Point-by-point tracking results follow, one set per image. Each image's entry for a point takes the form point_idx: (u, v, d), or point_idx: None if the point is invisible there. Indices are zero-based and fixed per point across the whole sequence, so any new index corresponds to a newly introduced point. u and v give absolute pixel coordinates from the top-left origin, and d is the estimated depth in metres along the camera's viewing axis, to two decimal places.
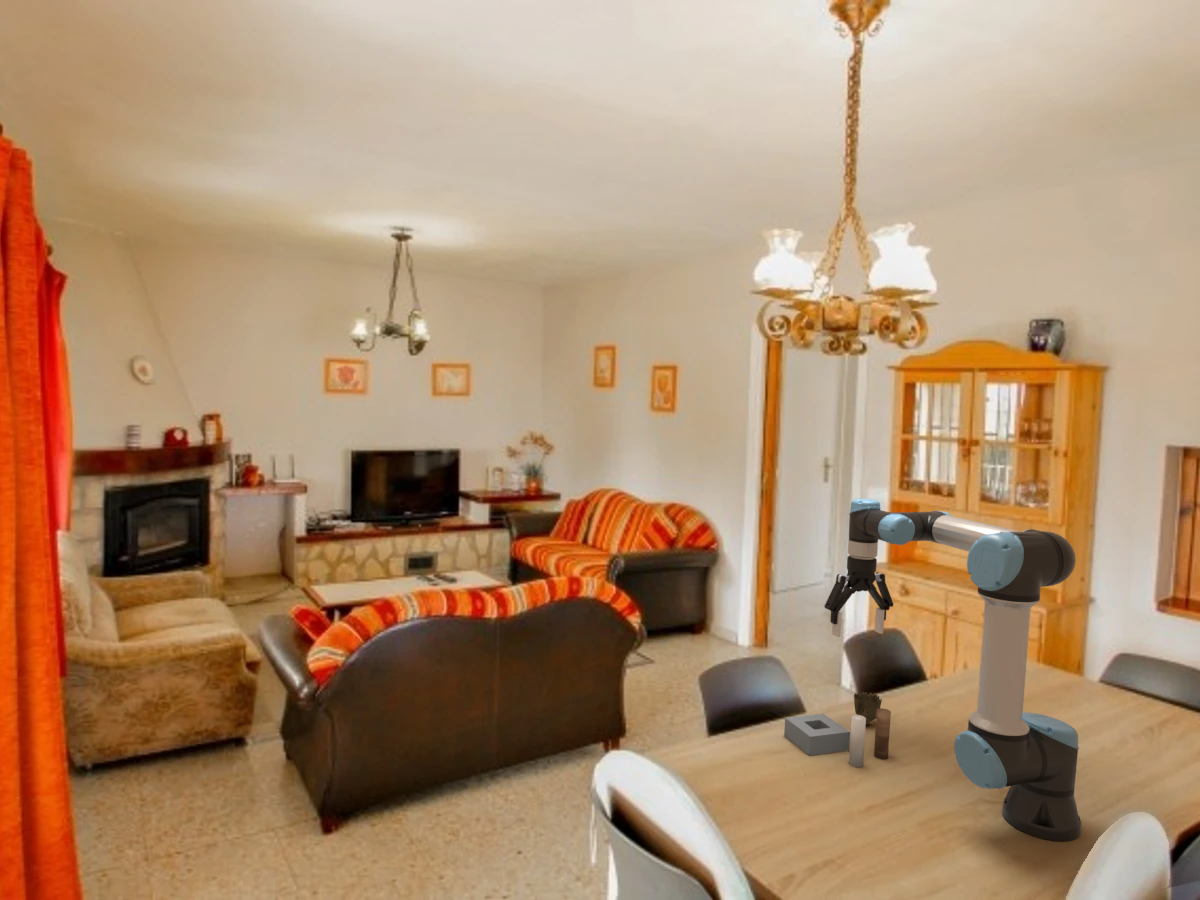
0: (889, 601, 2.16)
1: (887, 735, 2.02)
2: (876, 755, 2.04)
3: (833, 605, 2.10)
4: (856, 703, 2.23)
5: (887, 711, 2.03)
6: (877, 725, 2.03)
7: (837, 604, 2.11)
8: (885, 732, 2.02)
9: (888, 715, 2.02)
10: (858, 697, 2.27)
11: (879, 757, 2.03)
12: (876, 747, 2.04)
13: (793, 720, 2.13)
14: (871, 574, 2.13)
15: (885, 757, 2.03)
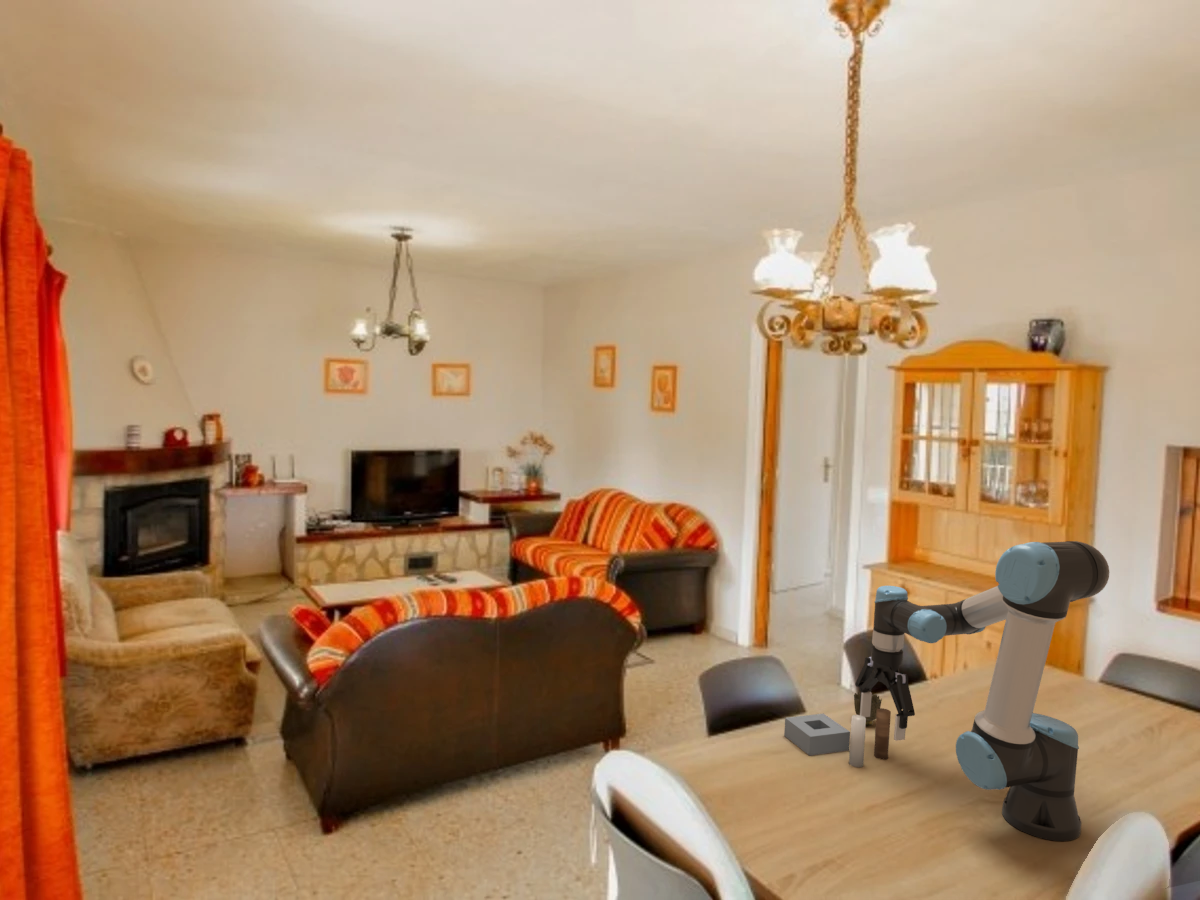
0: (903, 709, 1.95)
1: (887, 735, 2.02)
2: (876, 755, 2.04)
3: (858, 682, 2.11)
4: (856, 703, 2.23)
5: (887, 711, 2.03)
6: (877, 725, 2.03)
7: None
8: (885, 732, 2.02)
9: (888, 715, 2.02)
10: (858, 697, 2.27)
11: (879, 757, 2.03)
12: (876, 747, 2.04)
13: (793, 720, 2.13)
14: (889, 669, 2.00)
15: (885, 757, 2.03)
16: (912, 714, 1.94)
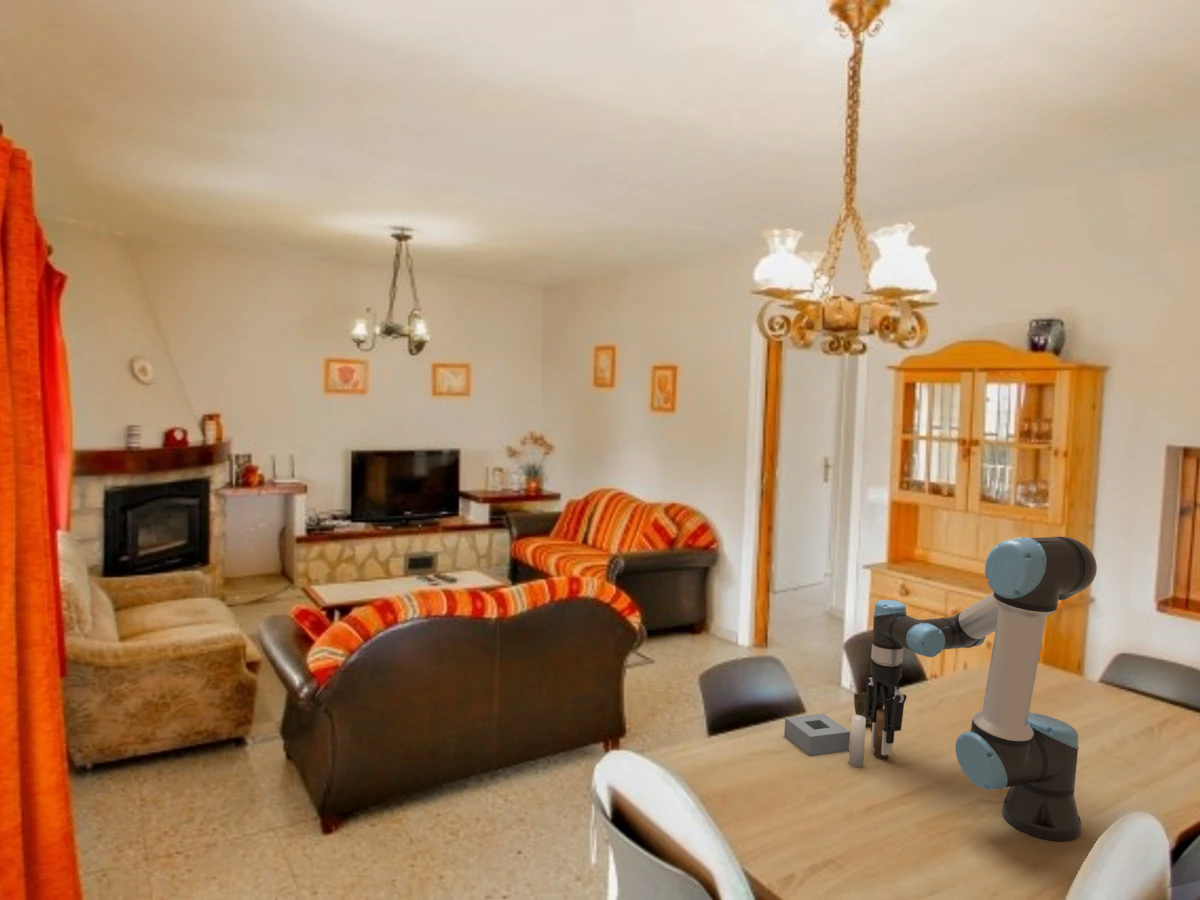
0: (891, 724, 1.99)
1: None
2: (876, 755, 2.04)
3: (867, 710, 2.08)
4: (856, 703, 2.23)
5: None
6: (877, 725, 2.03)
7: None
8: None
9: None
10: (858, 697, 2.27)
11: (879, 757, 2.03)
12: (876, 747, 2.03)
13: (793, 720, 2.13)
14: (890, 683, 2.00)
15: (885, 757, 2.03)
16: (898, 730, 1.99)
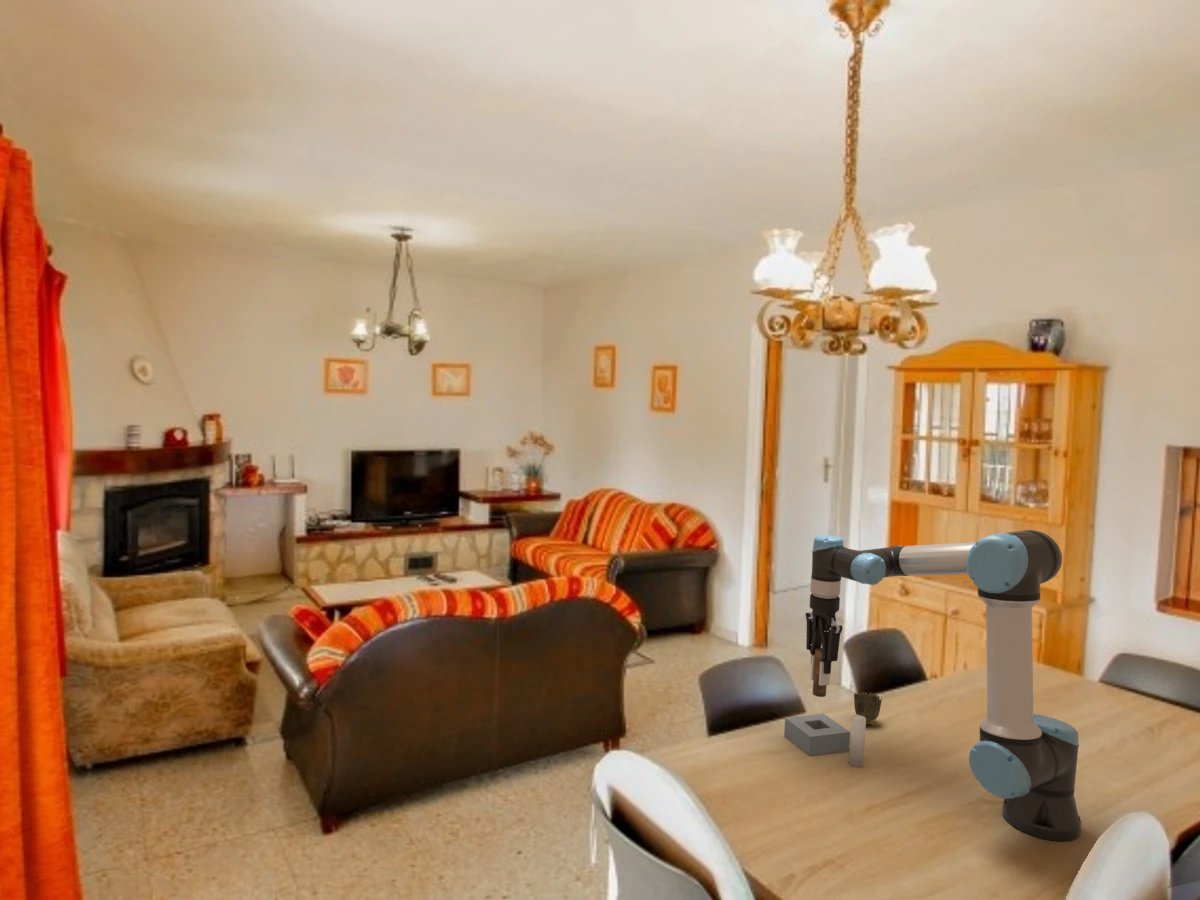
0: (828, 654, 2.04)
1: None
2: (814, 693, 2.09)
3: (807, 644, 2.13)
4: (856, 703, 2.23)
5: None
6: (815, 664, 2.09)
7: None
8: None
9: None
10: (858, 697, 2.27)
11: (817, 695, 2.09)
12: (814, 685, 2.09)
13: (793, 720, 2.13)
14: (827, 615, 2.05)
15: (823, 695, 2.09)
16: (834, 660, 2.05)
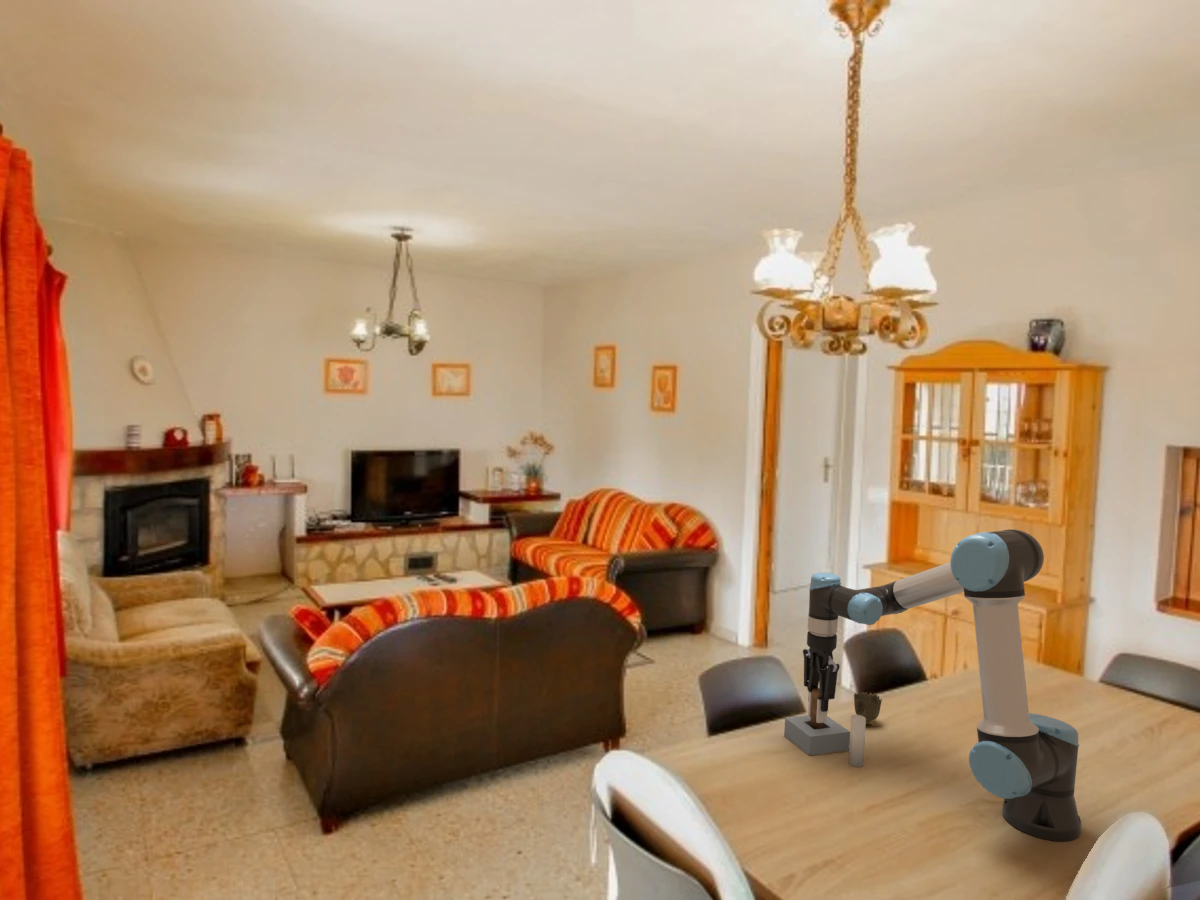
0: (825, 692, 2.05)
1: None
2: None
3: (805, 680, 2.14)
4: (856, 703, 2.23)
5: None
6: (812, 704, 2.10)
7: None
8: None
9: None
10: (858, 697, 2.27)
11: None
12: (811, 726, 2.10)
13: (793, 720, 2.13)
14: (824, 653, 2.06)
15: None
16: (832, 698, 2.05)
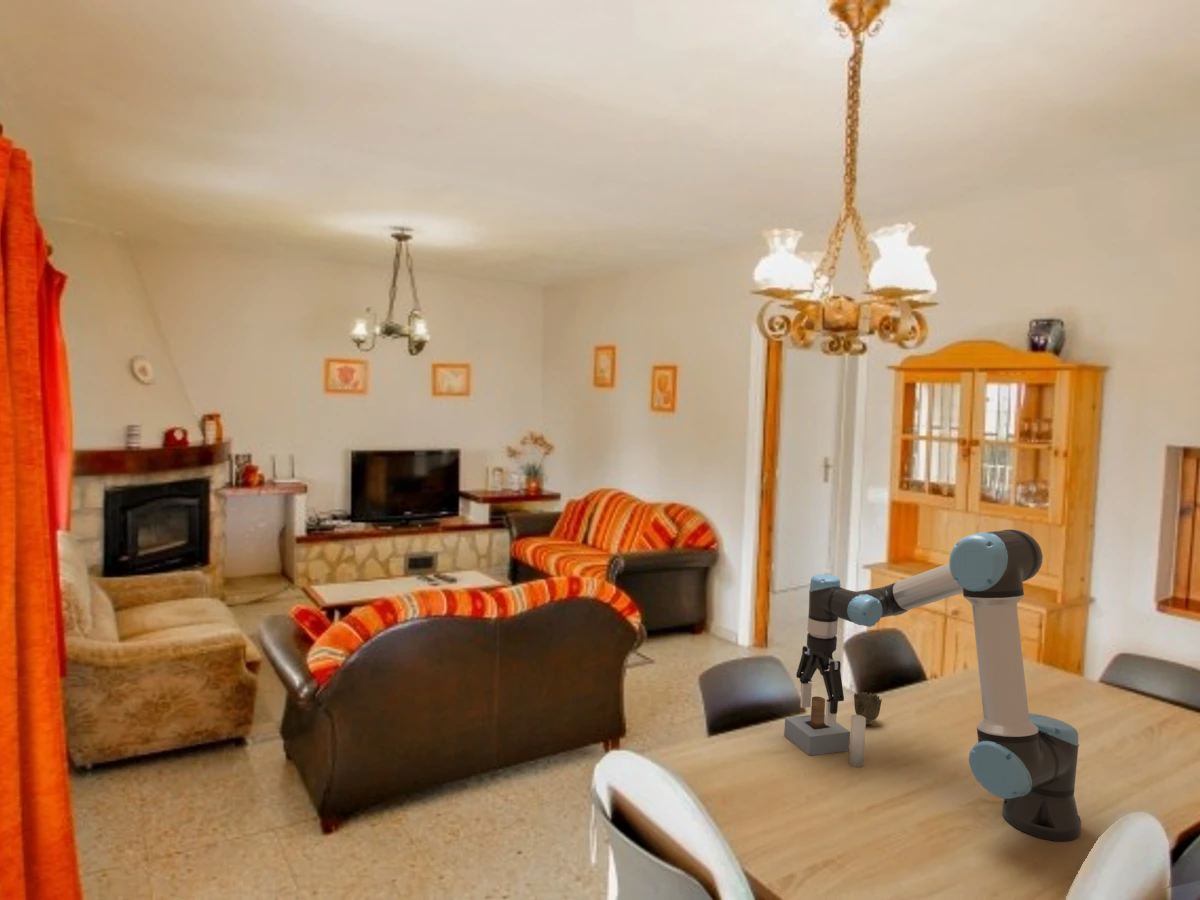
0: (833, 694, 2.02)
1: (821, 722, 2.09)
2: None
3: (798, 673, 2.17)
4: (856, 703, 2.23)
5: (822, 699, 2.10)
6: (812, 712, 2.10)
7: None
8: (819, 719, 2.09)
9: (822, 703, 2.09)
10: (858, 697, 2.27)
11: None
12: None
13: (793, 720, 2.13)
14: (823, 655, 2.06)
15: None
16: (841, 699, 2.01)
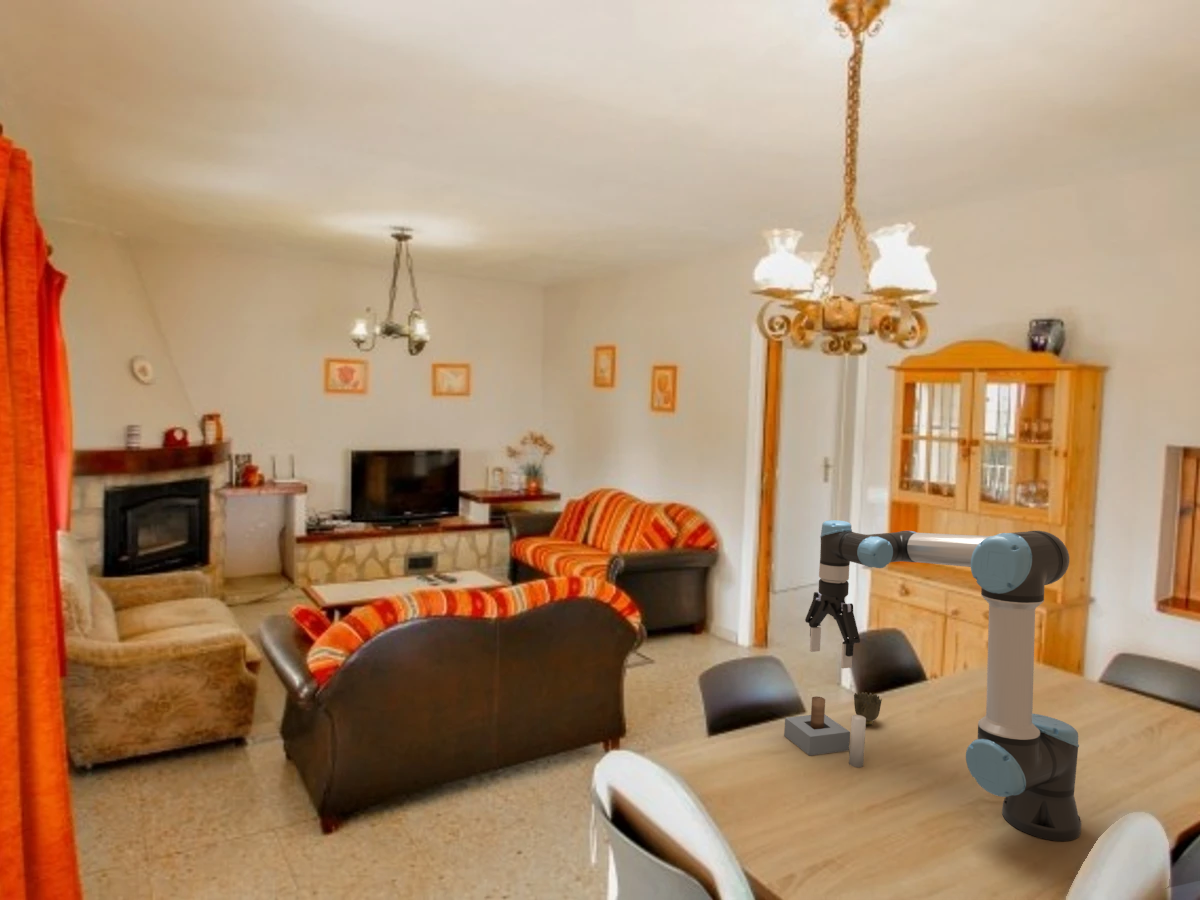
0: (848, 636, 2.01)
1: (821, 722, 2.09)
2: None
3: (807, 617, 2.17)
4: (856, 703, 2.23)
5: (822, 699, 2.10)
6: (812, 712, 2.10)
7: None
8: (819, 719, 2.09)
9: (822, 703, 2.09)
10: (858, 697, 2.27)
11: None
12: None
13: (793, 720, 2.13)
14: (835, 600, 2.06)
15: None
16: (857, 641, 2.00)
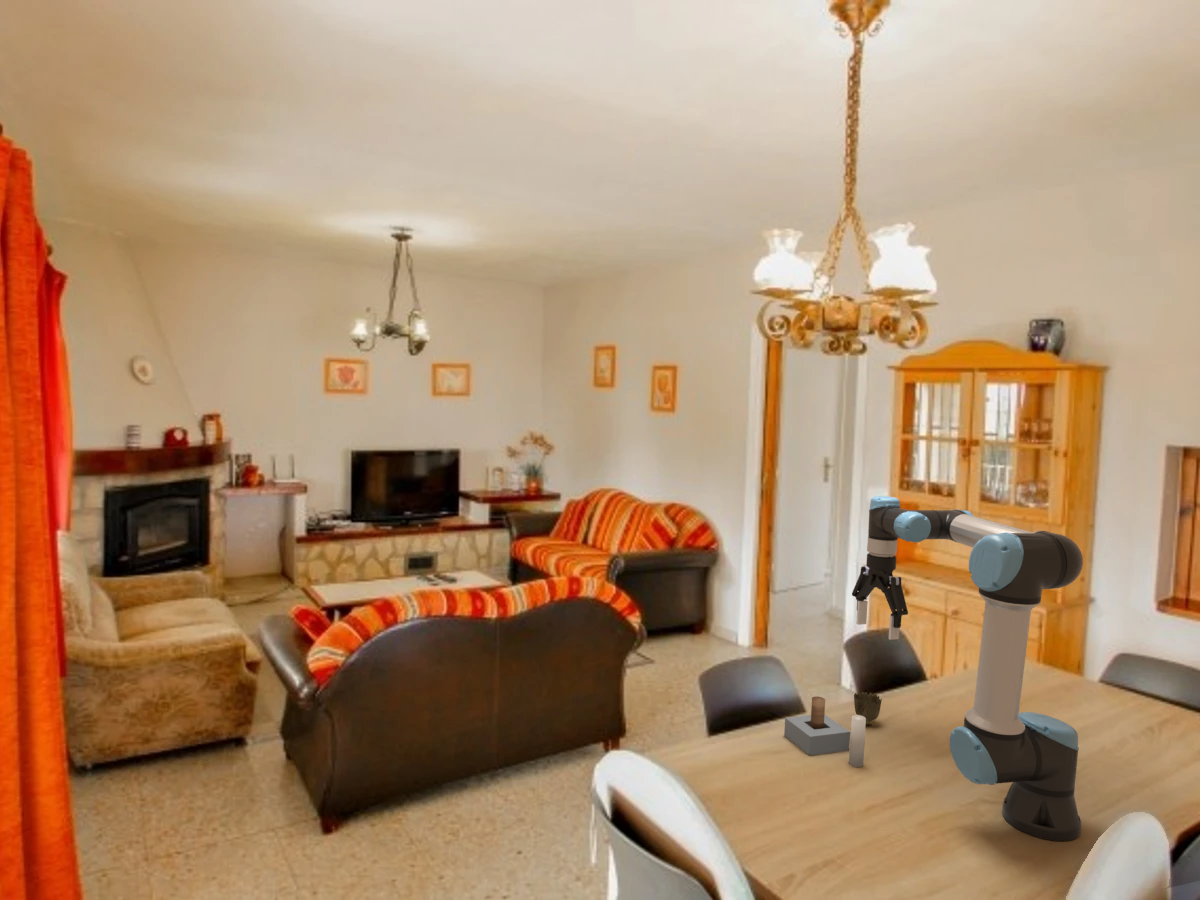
0: (897, 608, 2.06)
1: (821, 722, 2.09)
2: None
3: (854, 591, 2.23)
4: (856, 703, 2.23)
5: (822, 699, 2.10)
6: (812, 712, 2.10)
7: None
8: (819, 719, 2.09)
9: (822, 703, 2.09)
10: (858, 697, 2.27)
11: None
12: None
13: (793, 720, 2.13)
14: (883, 573, 2.11)
15: None
16: (905, 613, 2.05)
